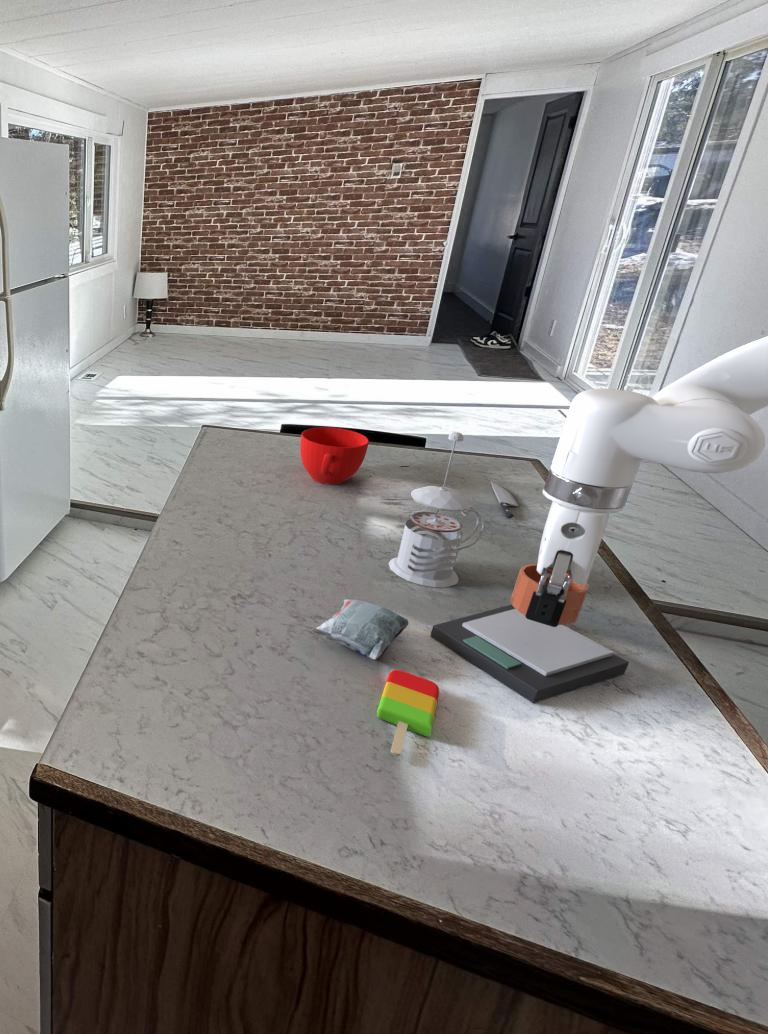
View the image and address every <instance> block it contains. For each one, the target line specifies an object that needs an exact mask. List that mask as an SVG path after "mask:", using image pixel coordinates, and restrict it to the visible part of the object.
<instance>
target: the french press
mask: <svg viewBox="0 0 768 1034" xmlns="http://www.w3.org/2000/svg"><path fill="white" fill-rule="evenodd" d="M464 439H465V437H464V435H463V434H462V433H461V432H459V431H454V432H452V433H449V435H448V438H447V440H449V441H452V442H453V446H452V450H451V454H450V457H449V461H448V466H447V470H446V474H445V477H444V478H445V479H444V482H443V486H436V485H427V486H423V487H419V488H414V489H413V490H412V491H411V492H410V495H411V498H412V499H413V501H414V502H416V503H417V504H419V505H421V506H424V507H426V508H428V509H433V510H436V511H431V510H428V509H427V510H416V511H413V512H410V513H409V515H408V517H409V519H407V520H406V521H405V525H404V528H403V533H402V537H401V541H400V546H399V550H398V554H397V556H396V557H394V558H391V559H390V561H389V562H388V566H389V569H390V571H392V572H393V573H394V574H395V575H396V576H398V577H399V578H401V579H404V580H406V581H407V582H411V583H413V584H417V585H420V586H424V587H431V588H449V587H452V586H455V585H457V583H458V581H459V577H458V575H457V573H456V572H455V571H454V568H455V564H456V561H457V558H458V554H459V552H460V551H461V550H465V549H467V548H470V547H471V546H473V545H475V544H476V543H477V542H478V541H479V540H480V539H481V537H482V535H483V533H484V529H485V520H484V517H483V516H482V515H481V514H480V513H479V512H477V510H475V508H474V507H472V506H473V502H472V500H471V499H470V498H469V497H468V496H466V495H465V494H464V493H462V492H460V491H457V490H455V489H452V488H450V487H447V486H446V483H447V479H448V476H449V471H450V467H451V464H452V461H453V460H452V459H453V455H454V452H455V447H456V443H457V442H463V441H464ZM439 511H442V512H439ZM464 511H466V513H464ZM443 512H450V513H451V512H452V513H453V512H461V515H463V516H464V517H467V516H468V515H469V512H473V513H474V514H475V517H476V518H475V519H476V523H475V527H474V529H473V531H472V532H471V533H470V535H469V536H468V537H467V538H465V539H463V540H462V538H463V536H464V535H463V532H462V531H460V530H461V529H462V527H463V524H462V522H461V521H460V520H459V519H457V518H455V517H454V516H452V515H449V514H447V513H443ZM479 518H480V521H481V529H480V532H479V535H478V537H477V538H476V539H475V540H474V541H473V542H472V543H470V544H468V545H465V546H463V547H461V544H462V543H465V542H466V541H468V540H470V539H471V538H472V537H473V536H474V534H475V533H476V532H477V530H478V526H479V523H480V521H479ZM417 526H418V527H417ZM415 527H417V528H415ZM413 528H414V529H413ZM411 529H412V530H411ZM426 531H428V532H430V533H433V534H435V535H437V536H438V537H439V538H438V537H436V536H434V535H431V534H428V533H417V532H426ZM458 531H459V532H458ZM458 533H459V535H458ZM457 535H458V538H457ZM455 546H456V547H455ZM454 547H455V548H454ZM434 550H436V551H434ZM452 554H453V555H452ZM450 561H451V562H450Z"/></svg>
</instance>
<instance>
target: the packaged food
mask: <svg viewBox="0 0 768 1034" xmlns="http://www.w3.org/2000/svg"><path fill="white" fill-rule="evenodd" d="M408 626H409V620H408V619H407V618H405V617H403V615H399V614H398V613H396V612H394V611H392V610H390V609H388V608H386V607H383V606H380V605H377V604H374V603H371V602H368V601H363V600H359V599H347V598H345V599H344V600H343V605H342V607H341V609H340V610H339V611H337V612H336V613H335V614H333V615H332V617H331V618H329V619H328V620H326V621H324V622H322V624H320V625H318V627H316V628H315V627H312V628H311V630H312V632H313V633H315V634H318V635H321V636H323V637H324V638H326V639H327V640H330V641H332V642H334V643H337V644H338V645H341V646H343V647H345V648H347V649H350V650H351V651H355V652H357V653H359V654H360V655H363V656H364V657H366V658H368V659H371V660H372V661H378V660H379V659H380V658H381V657H382V656H383V655H384V653H385V652H386V650H387V649H388V647H389V646H390V644H392V643H393V641H394V640H395V639H396V638H398V637H399V636H400V635H401V633H402V632H403V630H405V629H406V628H407V627H408Z"/></svg>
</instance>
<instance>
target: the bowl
mask: <svg viewBox="0 0 768 1034" xmlns="http://www.w3.org/2000/svg"><path fill="white" fill-rule="evenodd" d="M552 571H553V569H549V567H548V570H547V573H551V574H552ZM568 574H569V573H566V576H565V577H566V578H567V577H568ZM541 576H542V575H540V574H539V573H538V572H537V563H529V564H525V565H522V567H521V568H519V571H518V574H517V578H516V581H515V584H514V587H513V590H512V592H511V597H510V599H509V600H510V605H511V604H512V606H513V607H514V608H516V609H517V610H518V611H519V612H520V613H522V614H523V615H525V616H526V612H527V609H528V606H529V603H530V601H531V598H532V595H533V592H534V591H535V592H536V591H537V588H538V585H539V582H540V579H541ZM549 581H550V578H546V582H545V584H546V583H548V584H549ZM563 584H564V582H563ZM562 587H563V586H562ZM589 590H590V584H589V583H588V582H587V584H585V585H582V586H581V585H579V584H578V583H574V582H573V579H571V583H570V585H569V588H568V591H567V594H566V597H565V600H566V604H565V607H564V609H563V612H562V615H561V618H560V620H559V623H558V625H564V626H567V625H572V624H575V623H576V622H577V620H578V619H579V616H580V614H581V611H582V609H583V605H584V603H585V600H586V598H587V595H588V593H589Z"/></svg>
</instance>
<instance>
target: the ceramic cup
mask: <svg viewBox="0 0 768 1034" xmlns="http://www.w3.org/2000/svg"><path fill="white" fill-rule="evenodd" d="M368 447H369V439H368V438H367V436H365V435H363V434H362V433H359V432H357V431H354V430H349V429H345V428H339V427H327V426H325V427H324V426H323V427H311V428H308V429H305V430H303V431H302V432H301V436H300V449H299V450H300V452H299V453H300V459H301V463H302V465H303V468H304V469H305V471H306V472H307V473H308V475H309V476H310V478H311V479H312V480H313V481H315V482H318V483H321V484H326V485H341V484H343V483H344V482H345V481H347V480H348V479H350V478H352V477H353V476H354V475H355V474H356V473H357V472H358V470H359V469H360V467H361V466H362V464H363V462H364V461H365V458H366V454H367V451H368V449H369V448H368Z"/></svg>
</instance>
